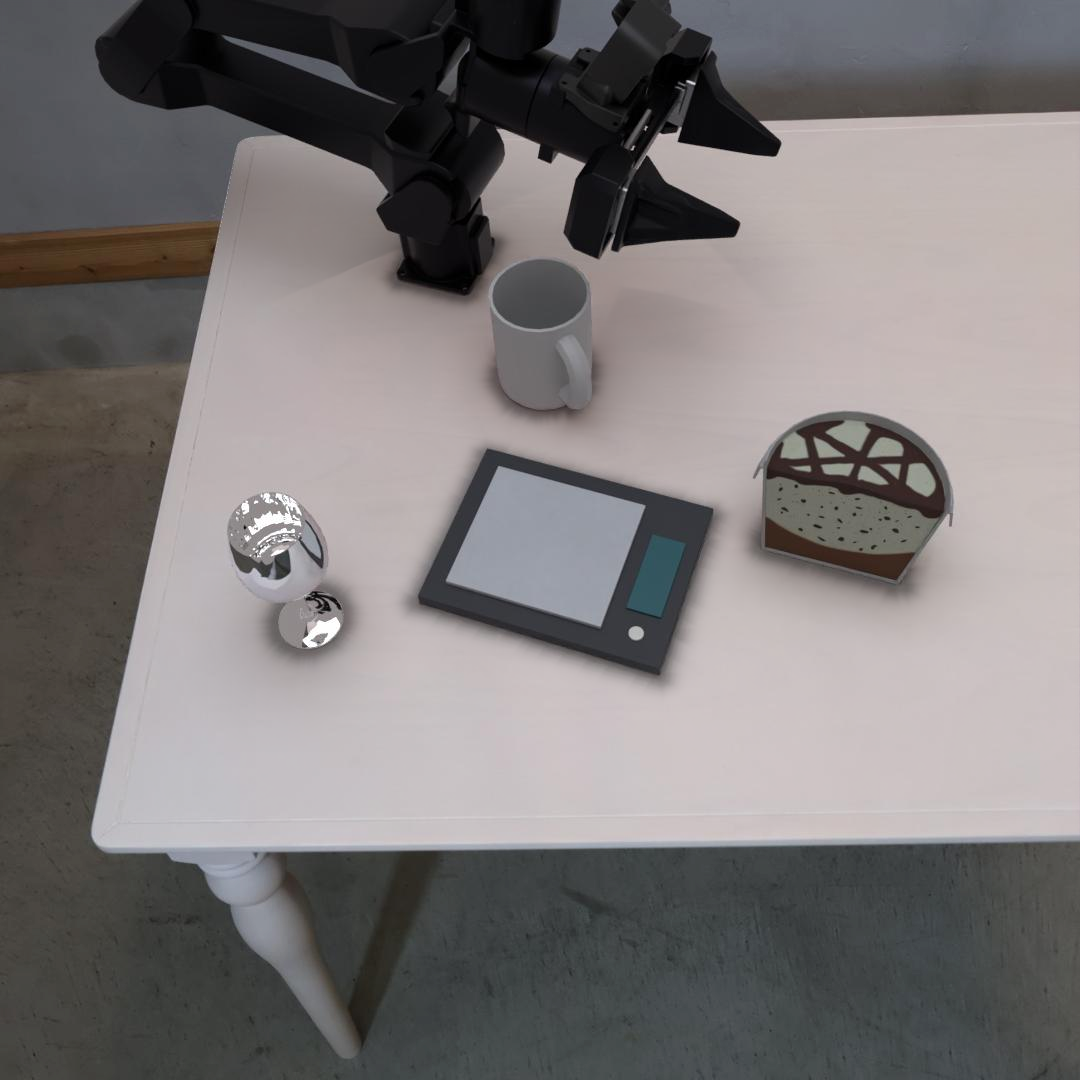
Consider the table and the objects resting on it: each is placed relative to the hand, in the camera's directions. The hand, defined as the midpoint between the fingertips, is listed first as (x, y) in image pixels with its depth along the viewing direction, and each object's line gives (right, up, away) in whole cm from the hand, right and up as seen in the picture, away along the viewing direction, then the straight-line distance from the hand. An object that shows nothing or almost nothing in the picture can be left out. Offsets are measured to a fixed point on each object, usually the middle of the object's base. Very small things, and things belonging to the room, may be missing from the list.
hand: (759, 188), depth 74 cm
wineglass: (-30, -29, +3) cm, 42 cm away
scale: (-13, -24, +4) cm, 28 cm away
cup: (-13, -12, +12) cm, 21 cm away
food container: (+6, -23, +4) cm, 24 cm away
